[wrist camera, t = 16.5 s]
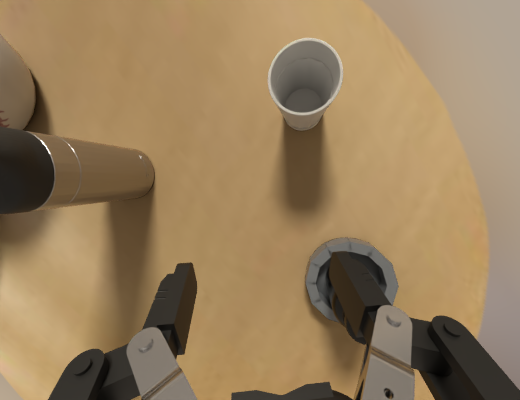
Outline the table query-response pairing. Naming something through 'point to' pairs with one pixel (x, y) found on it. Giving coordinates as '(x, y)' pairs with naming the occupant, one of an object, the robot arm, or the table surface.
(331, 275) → the robot arm
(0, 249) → the table surface
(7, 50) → the chamber pot
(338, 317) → the supplement bottle
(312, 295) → the dish
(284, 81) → the cup
